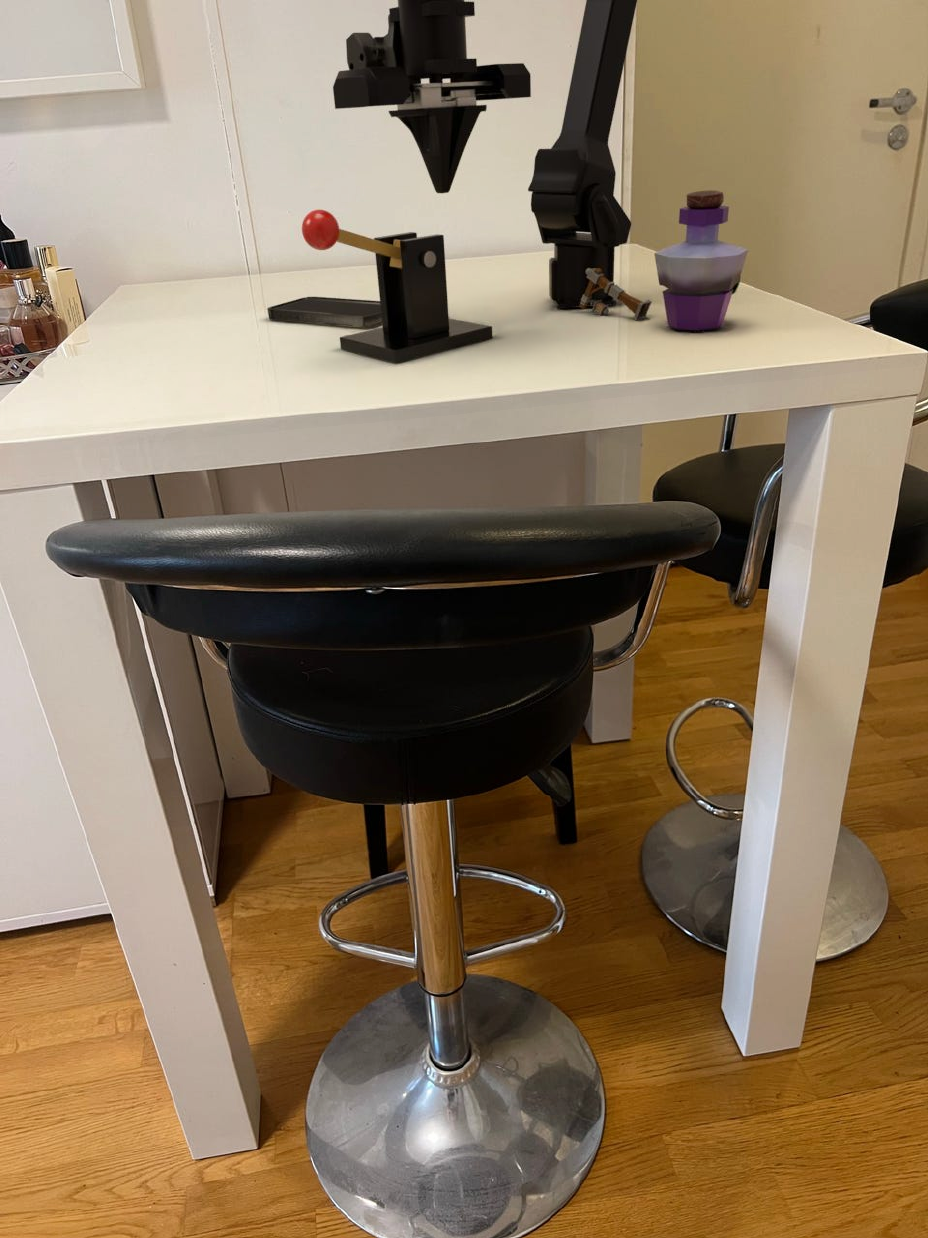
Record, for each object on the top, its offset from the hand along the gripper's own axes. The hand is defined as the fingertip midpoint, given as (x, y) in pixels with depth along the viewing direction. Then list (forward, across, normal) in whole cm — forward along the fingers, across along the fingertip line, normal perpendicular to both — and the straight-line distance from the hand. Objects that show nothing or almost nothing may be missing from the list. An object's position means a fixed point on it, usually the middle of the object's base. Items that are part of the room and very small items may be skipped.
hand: (442, 192), depth 83 cm
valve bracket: (+13, +5, 0) cm, 14 cm away
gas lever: (+5, +10, 0) cm, 11 cm away
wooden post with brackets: (+13, -16, +8) cm, 22 cm away
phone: (+13, +2, -18) cm, 22 cm away
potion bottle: (+13, -16, +18) cm, 28 cm away
